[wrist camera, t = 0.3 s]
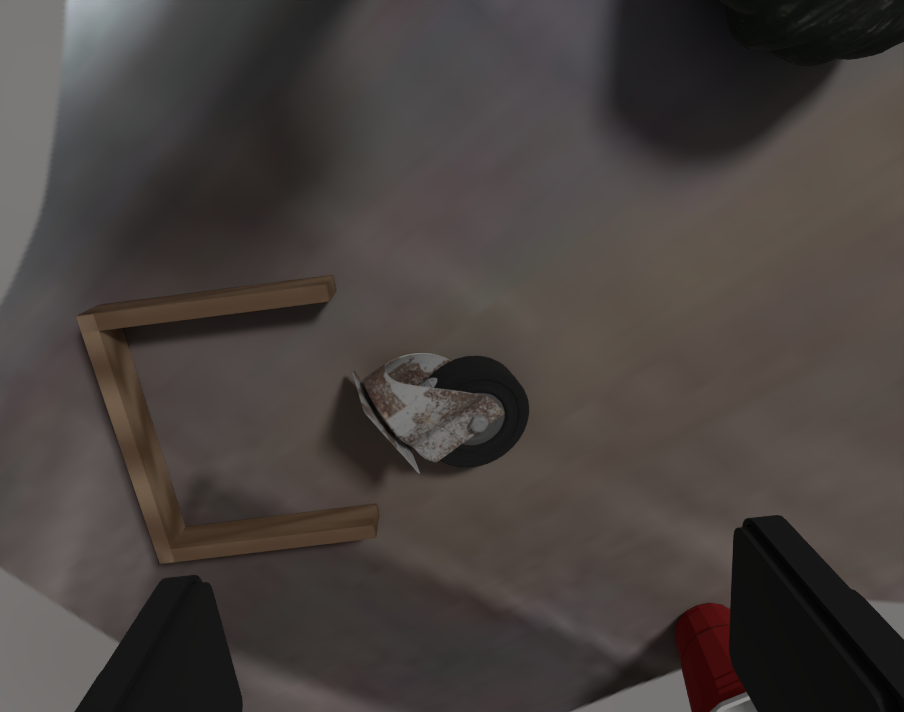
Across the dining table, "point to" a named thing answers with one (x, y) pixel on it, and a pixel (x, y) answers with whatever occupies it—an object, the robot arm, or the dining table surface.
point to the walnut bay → (143, 446)
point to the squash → (817, 27)
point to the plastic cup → (709, 661)
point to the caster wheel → (446, 407)
